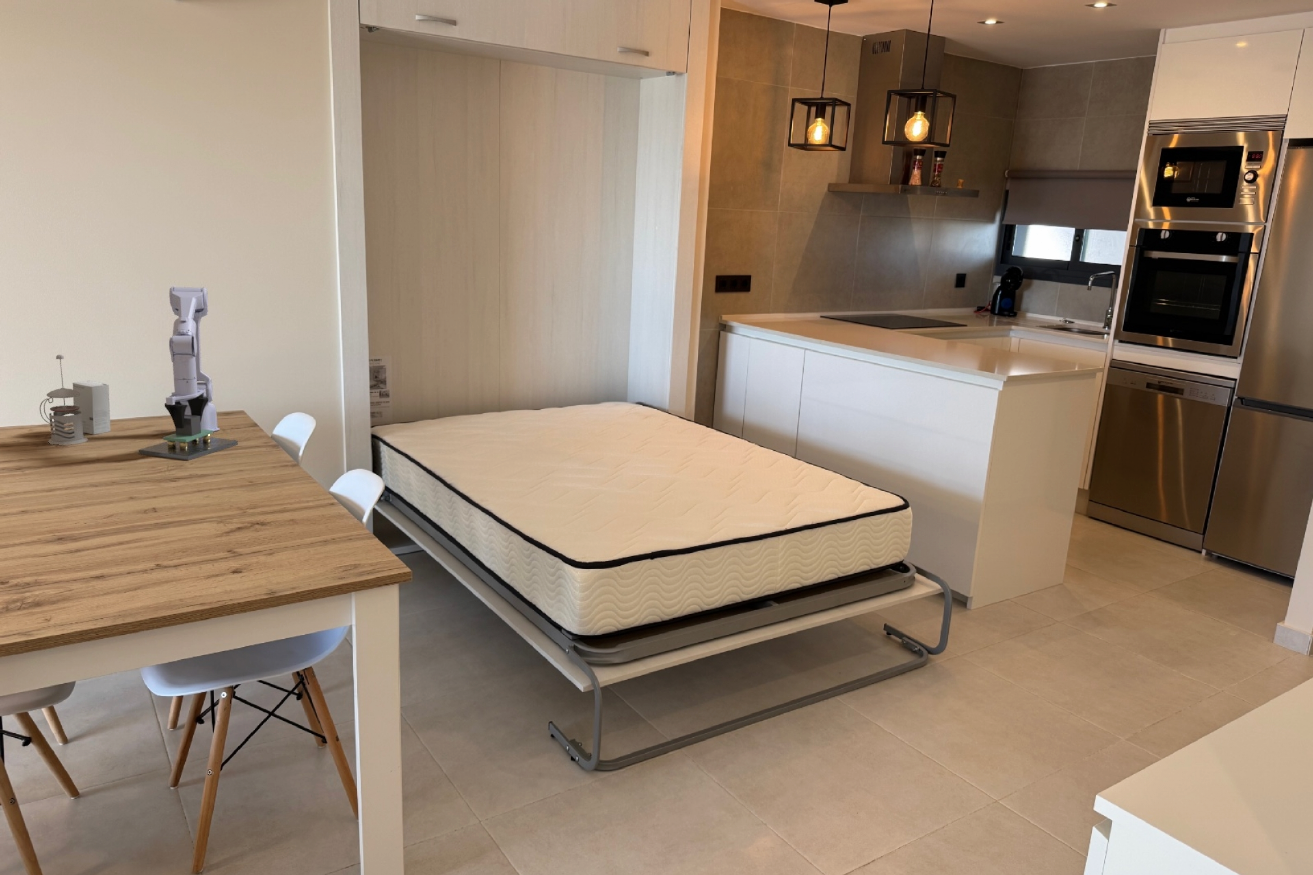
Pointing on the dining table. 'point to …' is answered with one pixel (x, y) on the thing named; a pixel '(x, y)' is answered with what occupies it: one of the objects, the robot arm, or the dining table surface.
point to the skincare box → (93, 406)
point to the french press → (64, 417)
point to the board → (187, 438)
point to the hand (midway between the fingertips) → (188, 425)
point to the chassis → (188, 448)
